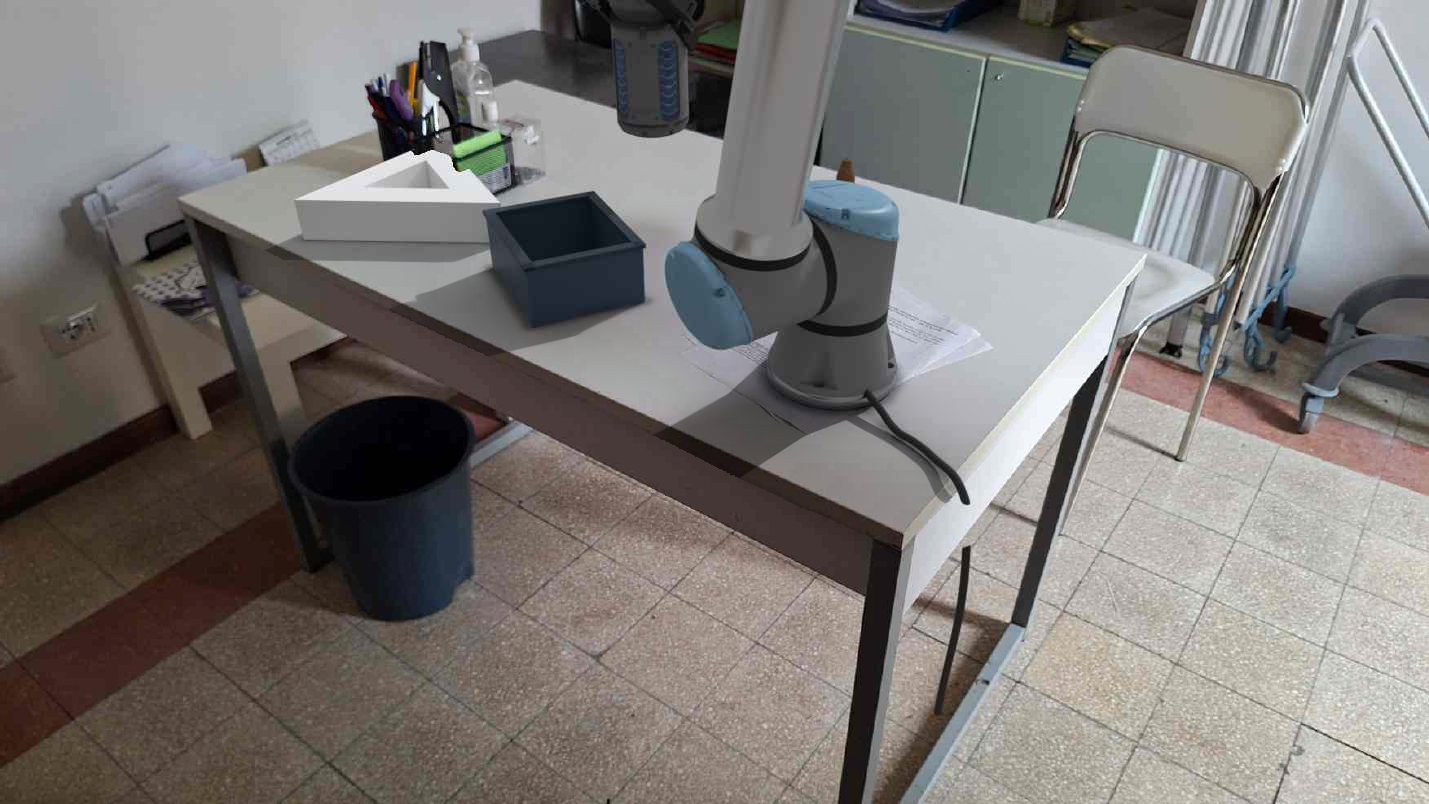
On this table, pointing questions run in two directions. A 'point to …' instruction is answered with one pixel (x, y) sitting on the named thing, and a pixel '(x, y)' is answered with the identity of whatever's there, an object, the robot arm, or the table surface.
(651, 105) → the grey piece
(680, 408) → the table surface
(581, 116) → the table surface
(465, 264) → the table surface
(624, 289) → the dark blue open box
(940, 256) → the table surface
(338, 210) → the triangle block
